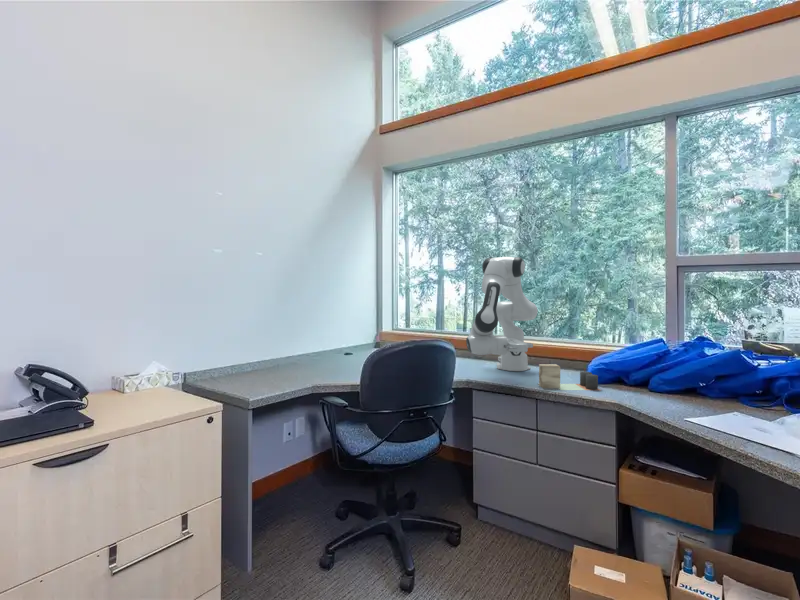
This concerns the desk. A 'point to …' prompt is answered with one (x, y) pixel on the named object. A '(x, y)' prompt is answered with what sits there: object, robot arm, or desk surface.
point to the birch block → (549, 375)
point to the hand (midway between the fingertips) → (532, 345)
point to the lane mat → (568, 387)
